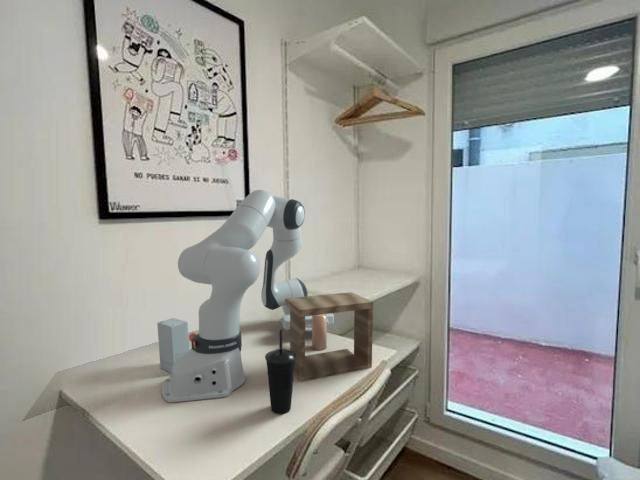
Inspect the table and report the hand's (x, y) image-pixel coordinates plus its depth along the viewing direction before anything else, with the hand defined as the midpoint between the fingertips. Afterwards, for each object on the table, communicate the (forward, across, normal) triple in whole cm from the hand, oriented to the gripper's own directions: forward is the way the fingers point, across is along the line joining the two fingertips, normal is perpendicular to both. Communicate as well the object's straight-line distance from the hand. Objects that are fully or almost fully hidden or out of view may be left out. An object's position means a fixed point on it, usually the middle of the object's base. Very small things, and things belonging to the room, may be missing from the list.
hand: (315, 326), depth 127 cm
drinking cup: (+35, -24, +7) cm, 43 cm away
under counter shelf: (+17, -3, +7) cm, 19 cm away
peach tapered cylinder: (+3, 0, +7) cm, 7 cm away
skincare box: (+1, -48, +7) cm, 48 cm away
